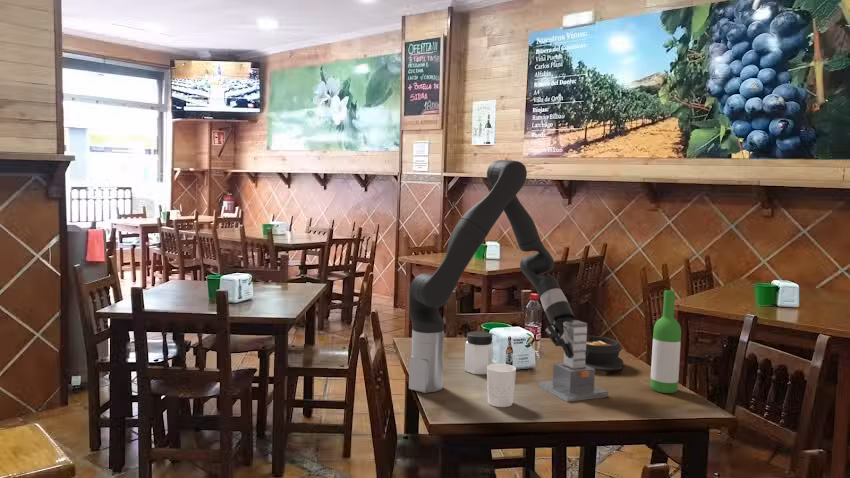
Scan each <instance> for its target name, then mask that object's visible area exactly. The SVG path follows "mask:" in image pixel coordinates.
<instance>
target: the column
mask: <svg viewBox="0 0 850 478" xmlns="http://www.w3.org/2000/svg"><path fill="white" fill-rule="evenodd" d="M587 329H588V322H586V321H585V322H584V321H581V320H579V319H575V320H574V321H565V332H566V335H567V339H568V344H570V347H571V349H572V351H573V353H574V356H573V357H572V358H568V357H567V356H566V354H565V352H564V351H563V362H562V363H563V366H565V367H567V368H569V369H571V370H575V369H585V358H586V338H587Z"/></svg>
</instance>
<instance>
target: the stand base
mask: <svg viewBox="0 0 850 478" xmlns="http://www.w3.org/2000/svg"><path fill="white" fill-rule="evenodd" d="M552 369H553V370H552V371H553V372H552V373H553V375H552V380H551V379H550V380H545V381H539V382H538V383H539V384H538V385H539V386H538V387H539V388H541V389H542V390H543V391H544V390H545V391H546V392H547V393H550V394H552V395H553V396H556V397H558V398H559V399H561V400H563V401H565V402H567V403H571V402H577V401H585V400H592V399H594V400H595V399H601V398H608V397H609V391H608V390H607V389H606V390H605V389H603V388H601V387H600V386H597V385H595V378H596V370H595V369H593V368H591V367H589V366H586V365H585V369H575V370H571V369H569V368H567V367H565V366H563V362H561V363H560V362H559V363H558V362H557V363H553V368H552Z"/></svg>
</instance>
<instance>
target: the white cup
mask: <svg viewBox="0 0 850 478" xmlns="http://www.w3.org/2000/svg"><path fill="white" fill-rule="evenodd" d="M516 374H517V368H516V366H514V365H511V364H507V363H492V364H490V365H488V366H487V374H486V387H487V388H486V389H487V390H486V391H487V404H489V405H490V406H492V407H498V408H507V407H511V406H512V405H513V402H514V393H515V385H516V376H517V375H516Z"/></svg>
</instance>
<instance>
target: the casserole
mask: <svg viewBox="0 0 850 478" xmlns="http://www.w3.org/2000/svg"><path fill="white" fill-rule="evenodd" d="M586 347H587V349H588V351H589V353H588V355H587V356H586V358H585V365H586V366H589V367H591V368H593V369H595V371H597V370H598V371H619V370H621V369H623V364H624V360H623V359H622V358H620V357H619V355H620V352H622V347H621V346H620V343H619V341H618V340H616V339H613V338H610V337H605V336H600V335H599V336H598V335H589V340H588V341H587V342H586Z"/></svg>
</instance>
